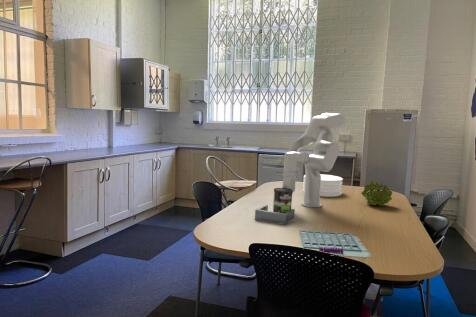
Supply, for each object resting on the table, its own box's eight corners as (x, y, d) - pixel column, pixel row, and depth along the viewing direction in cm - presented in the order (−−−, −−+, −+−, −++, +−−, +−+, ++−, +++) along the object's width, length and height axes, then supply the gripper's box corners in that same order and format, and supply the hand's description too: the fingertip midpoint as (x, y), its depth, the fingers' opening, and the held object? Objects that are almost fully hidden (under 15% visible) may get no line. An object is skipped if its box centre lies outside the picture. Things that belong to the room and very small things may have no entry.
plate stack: (295, 189, 274) (296, 174, 273) (325, 187, 286) (326, 173, 285) (318, 197, 249) (319, 181, 248) (349, 195, 261) (351, 179, 260)
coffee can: (294, 216, 198) (295, 191, 196) (276, 217, 195) (277, 191, 194) (286, 211, 208) (288, 187, 206) (269, 212, 205) (271, 187, 204)
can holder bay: (265, 213, 202) (265, 204, 201) (294, 218, 194) (294, 209, 194) (254, 219, 190) (255, 209, 189) (285, 224, 182) (286, 214, 182)
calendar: (357, 236, 169) (357, 232, 169) (374, 259, 141) (375, 253, 141) (299, 233, 172) (299, 228, 171) (304, 255, 144) (305, 249, 143)
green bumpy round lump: (382, 194, 243) (397, 182, 230) (382, 214, 234) (398, 202, 221) (358, 185, 242) (372, 172, 229) (357, 204, 232) (372, 192, 219)
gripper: (288, 171, 217) (286, 201, 219) (279, 174, 204) (277, 206, 205) (300, 172, 213) (298, 203, 215) (291, 176, 200) (290, 208, 202)
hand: (288, 204), depth 210 cm, fingers closed
